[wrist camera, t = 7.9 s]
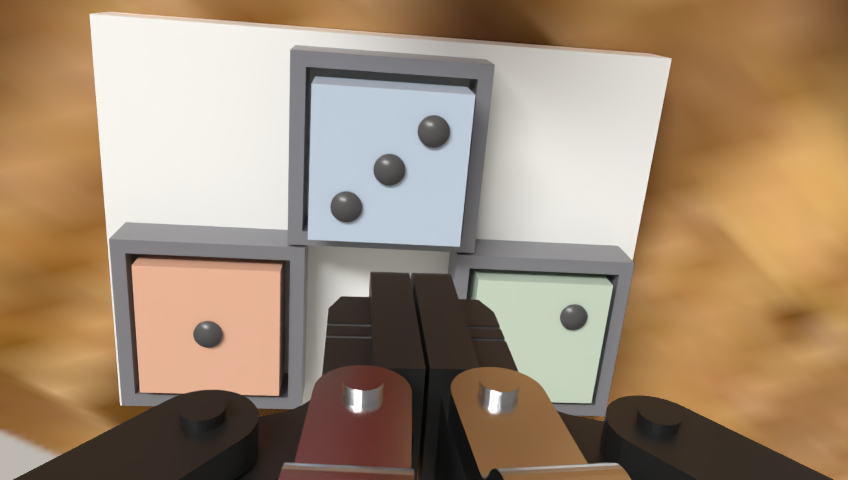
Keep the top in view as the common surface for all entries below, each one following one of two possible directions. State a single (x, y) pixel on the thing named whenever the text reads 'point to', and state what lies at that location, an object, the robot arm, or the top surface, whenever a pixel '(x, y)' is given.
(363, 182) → the button three
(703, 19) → the top surface
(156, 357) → the button one
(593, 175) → the button panel
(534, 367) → the button two
